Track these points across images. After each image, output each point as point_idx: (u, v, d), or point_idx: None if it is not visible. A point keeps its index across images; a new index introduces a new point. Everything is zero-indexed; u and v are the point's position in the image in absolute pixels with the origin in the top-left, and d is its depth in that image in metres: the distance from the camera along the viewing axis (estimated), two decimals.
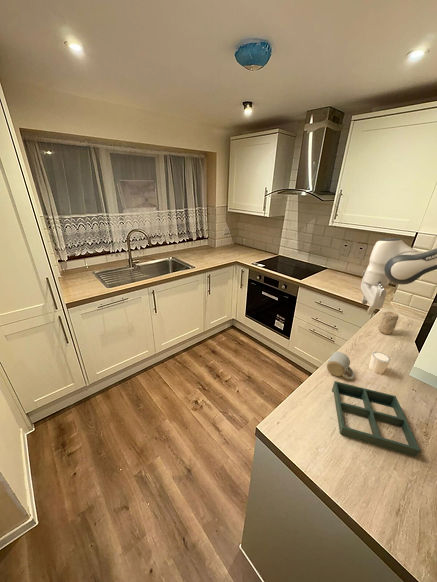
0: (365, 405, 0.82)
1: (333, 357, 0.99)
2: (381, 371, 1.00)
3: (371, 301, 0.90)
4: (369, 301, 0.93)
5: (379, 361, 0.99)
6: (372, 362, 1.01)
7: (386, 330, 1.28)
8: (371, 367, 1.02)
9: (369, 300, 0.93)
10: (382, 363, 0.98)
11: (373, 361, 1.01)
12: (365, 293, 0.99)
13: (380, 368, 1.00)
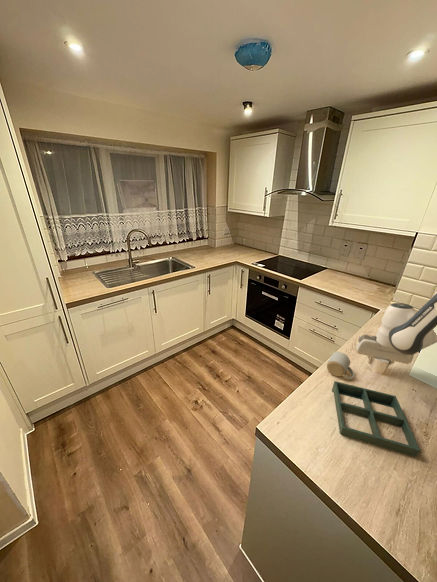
0: (365, 405, 0.82)
1: (333, 357, 0.99)
2: (381, 371, 1.00)
3: None
4: None
5: (379, 361, 0.99)
6: (372, 362, 1.01)
7: None
8: (371, 367, 1.02)
9: None
10: (382, 363, 0.98)
11: (373, 361, 1.01)
12: None
13: (380, 368, 1.00)
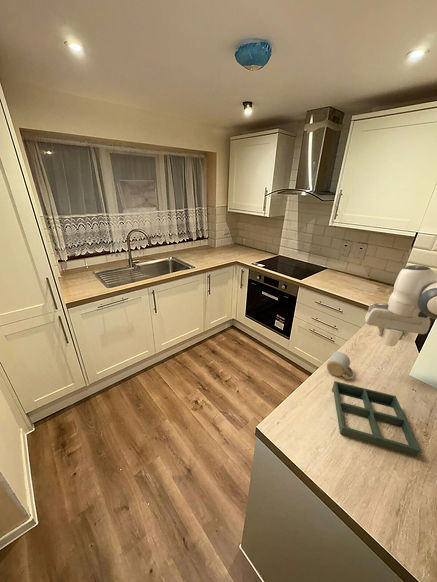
0: (365, 405, 0.82)
1: (333, 357, 0.99)
2: (393, 343, 0.92)
3: None
4: None
5: (391, 332, 0.90)
6: (383, 334, 0.93)
7: None
8: (382, 340, 0.94)
9: None
10: (395, 333, 0.89)
11: (384, 333, 0.92)
12: None
13: (392, 340, 0.91)
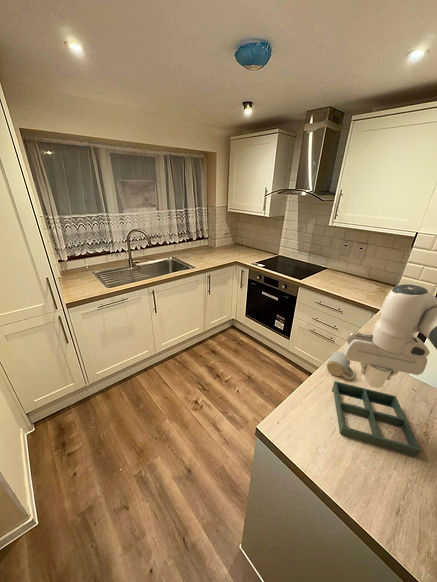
0: (365, 405, 0.82)
1: (333, 357, 0.99)
2: (379, 384, 0.71)
3: None
4: None
5: (376, 370, 0.69)
6: (366, 371, 0.72)
7: None
8: (365, 378, 0.73)
9: None
10: (381, 373, 0.68)
11: (368, 370, 0.71)
12: None
13: (378, 380, 0.70)
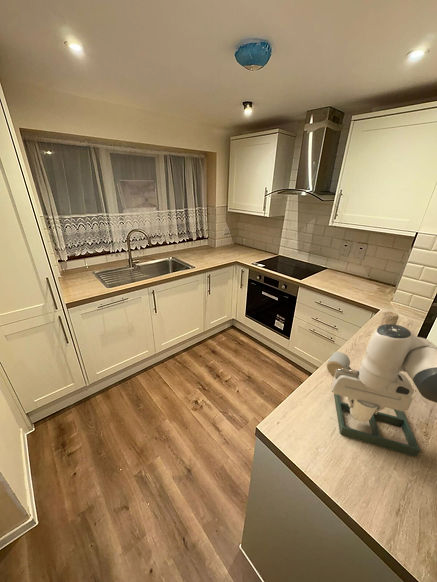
0: None
1: (333, 357, 0.99)
2: (366, 419, 0.71)
3: None
4: None
5: (363, 406, 0.70)
6: (354, 406, 0.72)
7: None
8: (353, 412, 0.73)
9: None
10: (367, 409, 0.69)
11: (355, 405, 0.72)
12: None
13: (365, 415, 0.71)
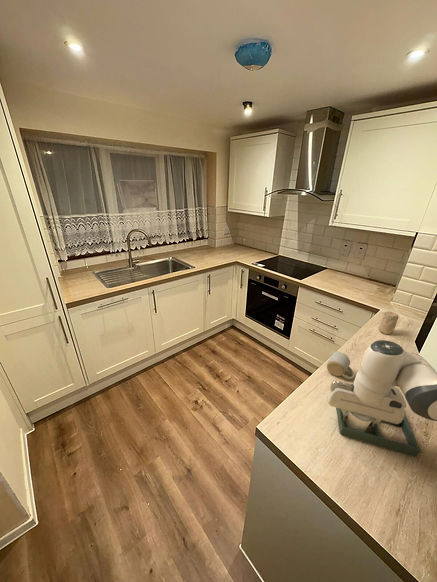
0: None
1: (333, 357, 0.99)
2: None
3: None
4: None
5: (357, 420, 0.72)
6: (349, 419, 0.75)
7: (386, 330, 1.28)
8: (348, 425, 0.76)
9: None
10: (362, 422, 0.72)
11: (350, 418, 0.74)
12: None
13: (359, 428, 0.73)
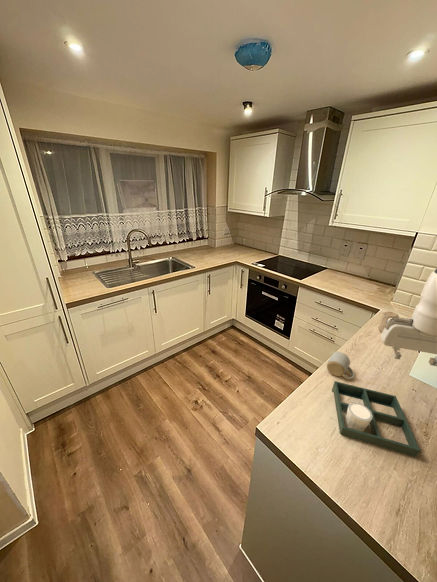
0: (365, 405, 0.82)
1: (333, 357, 0.99)
2: None
3: None
4: None
5: (357, 419, 0.72)
6: (348, 418, 0.75)
7: None
8: (347, 424, 0.76)
9: None
10: (361, 422, 0.72)
11: (349, 417, 0.74)
12: None
13: (358, 428, 0.73)
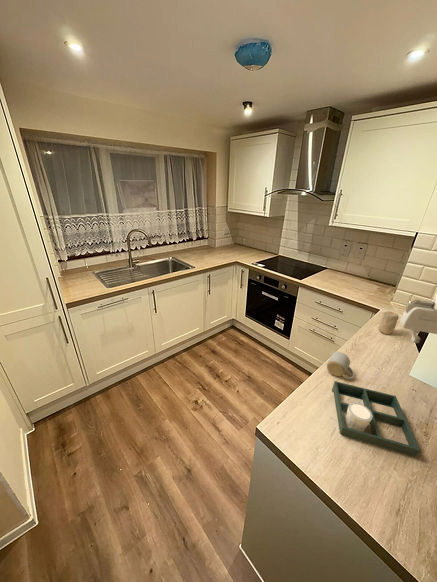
0: (365, 405, 0.82)
1: (333, 357, 0.99)
2: None
3: None
4: None
5: (357, 419, 0.72)
6: (348, 418, 0.75)
7: (386, 330, 1.28)
8: (347, 424, 0.76)
9: None
10: (361, 422, 0.72)
11: (349, 417, 0.74)
12: None
13: (358, 428, 0.73)
